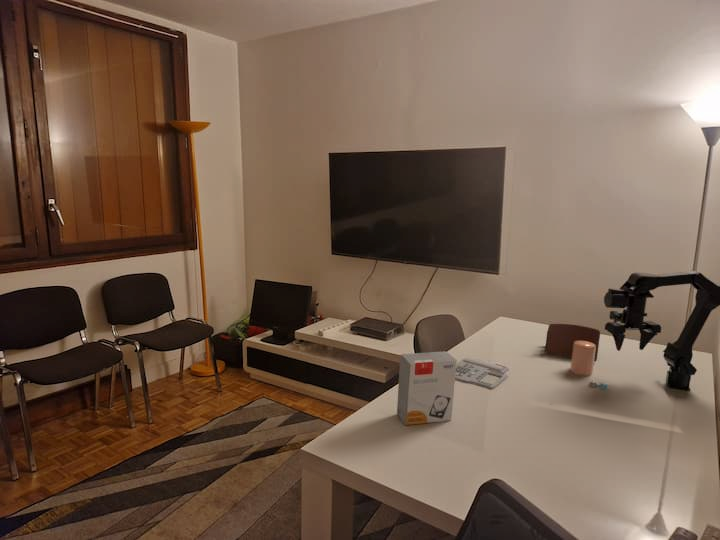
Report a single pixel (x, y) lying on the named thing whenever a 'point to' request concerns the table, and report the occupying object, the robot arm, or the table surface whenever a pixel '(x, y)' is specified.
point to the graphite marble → (593, 384)
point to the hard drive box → (426, 387)
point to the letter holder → (569, 338)
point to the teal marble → (603, 386)
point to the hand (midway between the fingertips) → (629, 350)
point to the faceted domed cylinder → (583, 358)
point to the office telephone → (479, 372)
